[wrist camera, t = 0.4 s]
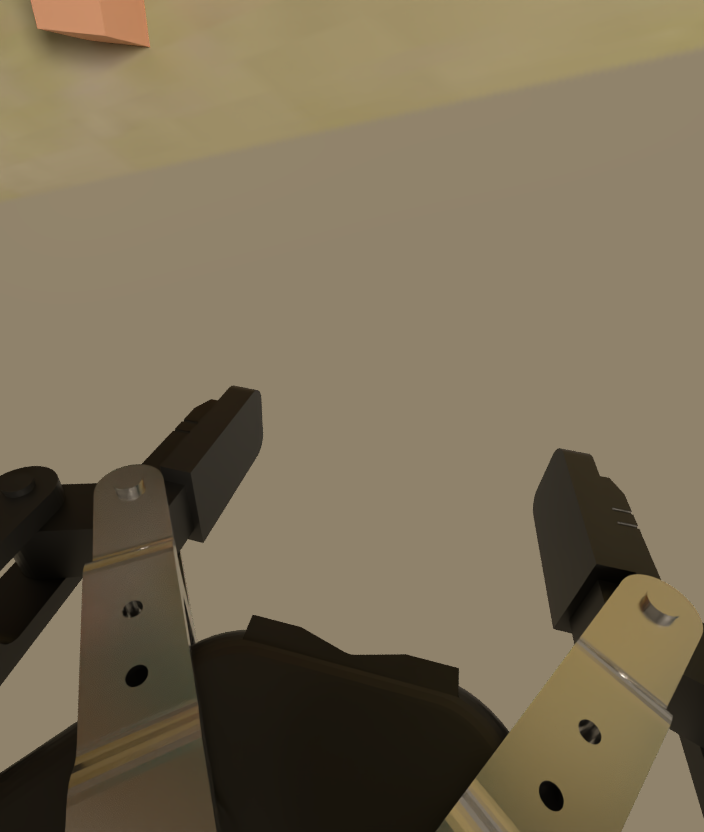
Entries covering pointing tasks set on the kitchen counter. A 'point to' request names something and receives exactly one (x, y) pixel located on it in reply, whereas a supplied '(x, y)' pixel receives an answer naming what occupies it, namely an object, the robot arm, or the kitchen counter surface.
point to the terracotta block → (95, 20)
